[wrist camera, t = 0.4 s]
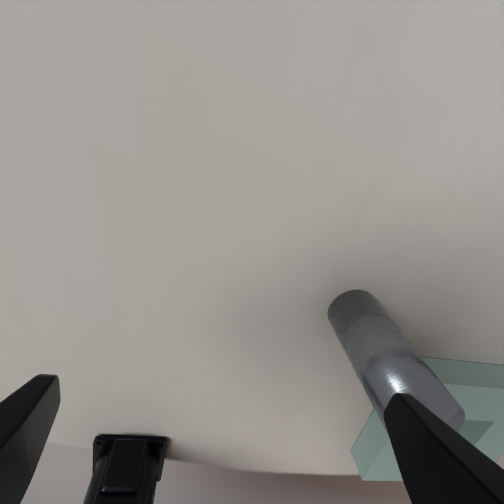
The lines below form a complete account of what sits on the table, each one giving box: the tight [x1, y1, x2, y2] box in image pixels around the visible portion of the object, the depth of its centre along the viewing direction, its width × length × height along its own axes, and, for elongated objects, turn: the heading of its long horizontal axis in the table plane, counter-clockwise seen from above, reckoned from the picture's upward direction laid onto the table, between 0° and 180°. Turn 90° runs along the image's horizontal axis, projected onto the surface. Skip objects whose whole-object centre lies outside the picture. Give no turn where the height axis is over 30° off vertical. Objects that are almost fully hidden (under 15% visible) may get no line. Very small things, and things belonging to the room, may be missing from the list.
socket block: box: [351, 357, 504, 481], centre depth 31 cm, size 14×14×3 cm
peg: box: [328, 290, 465, 436], centre depth 21 cm, size 4×4×10 cm
